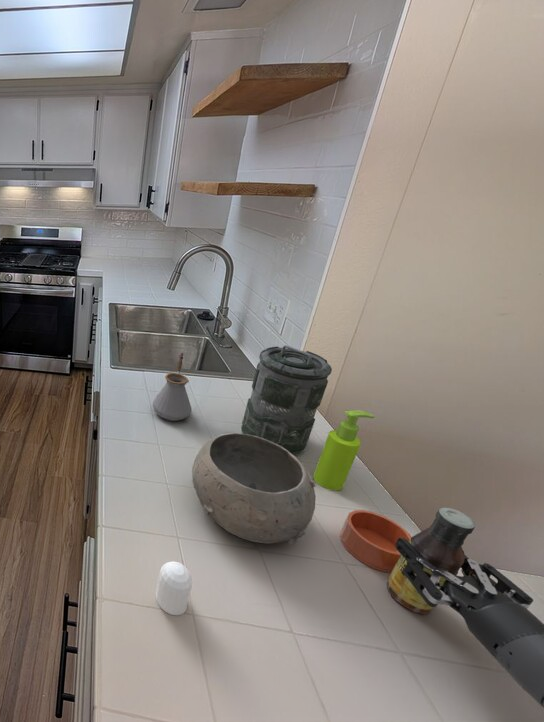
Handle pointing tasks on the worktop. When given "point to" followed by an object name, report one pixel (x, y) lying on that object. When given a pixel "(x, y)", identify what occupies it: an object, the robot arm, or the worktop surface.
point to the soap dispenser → (339, 452)
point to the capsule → (173, 588)
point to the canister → (286, 396)
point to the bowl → (254, 488)
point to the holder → (373, 539)
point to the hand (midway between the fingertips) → (420, 542)
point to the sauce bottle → (433, 555)
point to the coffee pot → (173, 397)
